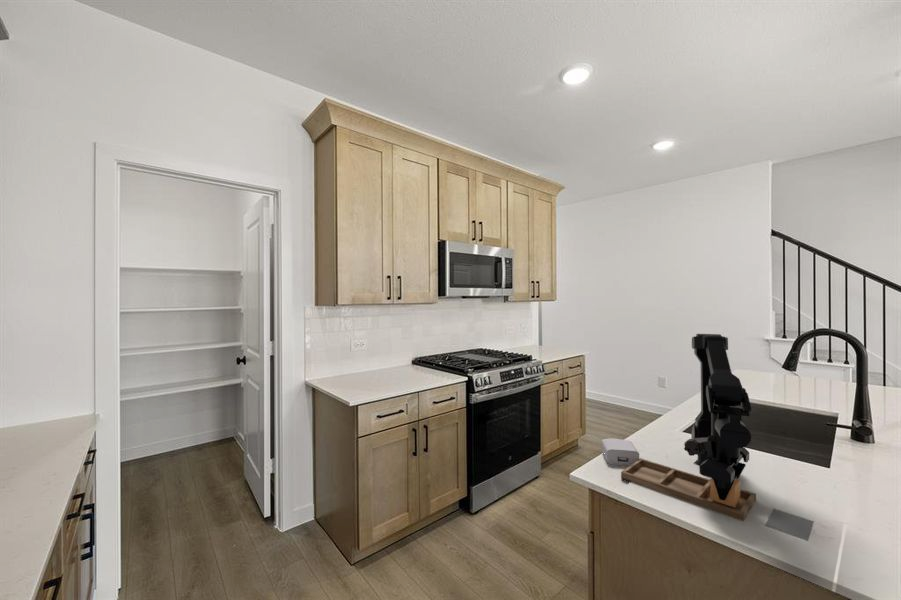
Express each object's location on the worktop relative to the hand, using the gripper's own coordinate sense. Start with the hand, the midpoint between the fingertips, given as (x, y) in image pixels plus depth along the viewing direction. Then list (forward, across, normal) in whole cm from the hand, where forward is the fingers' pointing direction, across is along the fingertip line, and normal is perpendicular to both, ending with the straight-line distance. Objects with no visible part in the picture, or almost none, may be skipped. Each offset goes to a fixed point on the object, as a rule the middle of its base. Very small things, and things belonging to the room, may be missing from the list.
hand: (725, 495), depth 95 cm
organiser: (+2, 0, -9) cm, 9 cm away
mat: (+2, 0, +12) cm, 12 cm away
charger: (+3, -9, -31) cm, 33 cm away
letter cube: (+1, 0, 0) cm, 1 cm away
